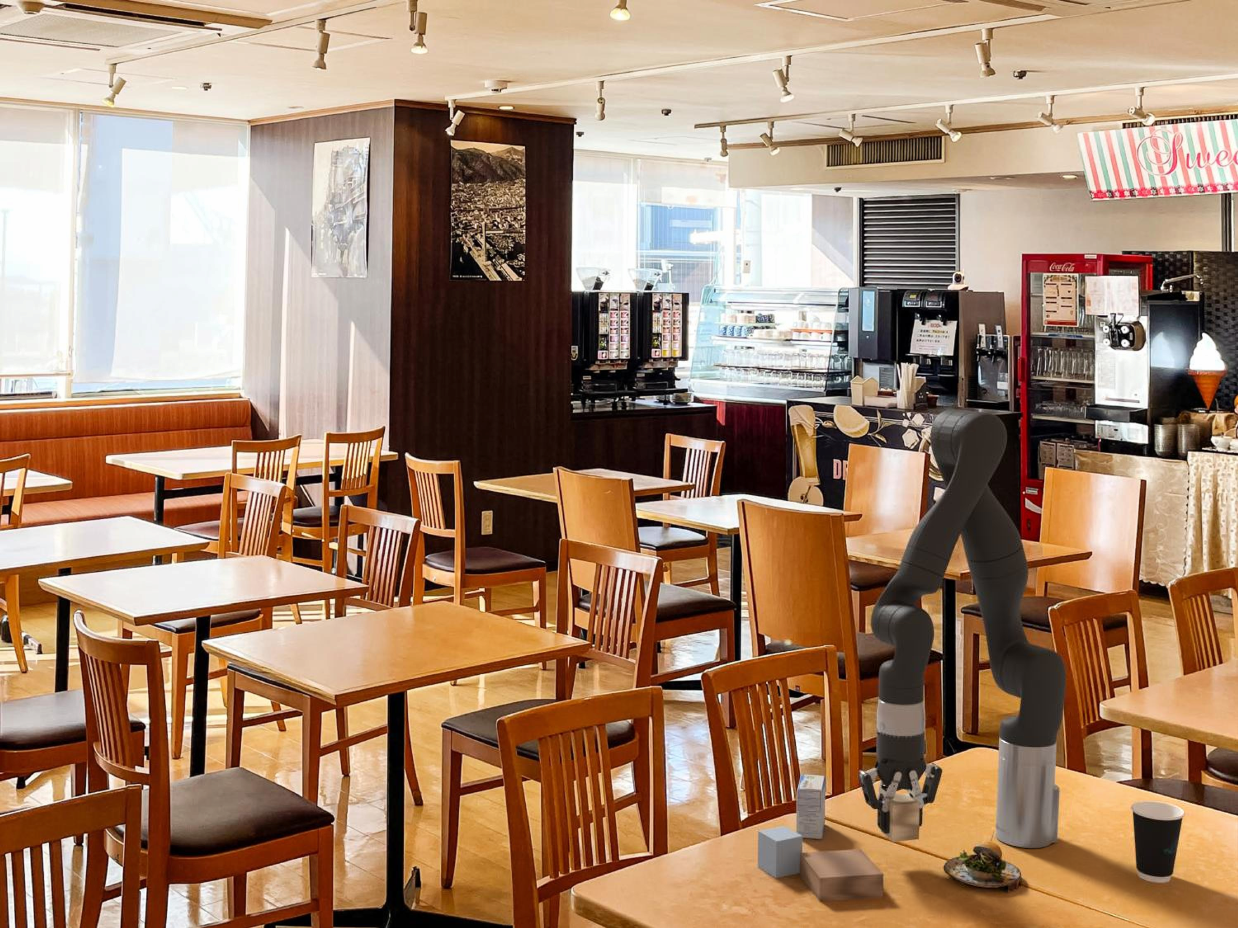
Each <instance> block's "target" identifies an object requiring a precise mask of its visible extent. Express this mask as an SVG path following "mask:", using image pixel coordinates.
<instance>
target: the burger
mask: <svg viewBox="0 0 1238 928" xmlns="http://www.w3.org/2000/svg"><path fill="white" fill-rule="evenodd" d="M994 833H995V830H993V832H992V835H991V840H986V841H981V842H978V843H976V844H975V845H974V846H973V849H972V851H973V853H974V854H970V855H969V854H968V853H967V852H966V851H965V849H963V850H962V851H963V852H959V854H960V855H959V856H956V857H953V858H951V859H949V860H946V862H945V863H944V865H943V871H944V872H947V873H948V874H949V875H950V876H951V877H952V878H954V879H955V880H957V881H960V883H961V882H962V883H963V884H964V883H965V884H967V885H971V886H974V887H981V888H986V889H987V888H994V889H995V888H997V889H998V888H1002V887H1006V886H1007V892H1008V893H1010V892H1013V893H1014V892H1015V890H1018V889H1019V888H1018V886H1019V884H1020V886H1022V883H1023V882H1022V872H1021V870H1020V869H1019V868H1018V867H1017V866H1016V865H1014V864H1012V863H1011V862H1008V861H1007V860H1005V859H1004V860H1003V859H1002V858H1003V852H1002V848H1001V847H1000V846H999V844H996V843H995V842H993V840H992V839H993V837H994Z"/></svg>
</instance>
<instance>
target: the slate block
mask: <svg viewBox="0 0 1238 928" xmlns="http://www.w3.org/2000/svg"><path fill="white" fill-rule="evenodd" d="M757 833H758V834H757V835H758V836H757V868H758V869H760V870H762V871H763V872H764V873H766V874H768V875H770V876H771V877H772V878H775V879H779V878H783V877H788V876H793V875H798V874H800V853H803V839H804V838H803V836H802V835H800V834H798V833H796V830H795V831H794V830H793V829H791V828H790V827H787V826H785V825H782V826H778V827H777V826H776V827H773V828H767V829H762V830H758V831H757Z"/></svg>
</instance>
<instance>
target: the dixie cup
mask: <svg viewBox="0 0 1238 928" xmlns="http://www.w3.org/2000/svg"><path fill="white" fill-rule="evenodd" d="M1130 810H1131V811H1132V819H1133V835H1134V851H1135V852H1134V853H1135V866H1136V870H1137V875H1138V877H1139V878H1141V879H1142V880H1144V881H1147V882H1150V883H1158V884H1160V883H1161V884H1162V883H1163V884H1164V883H1168V882H1170V881H1171V878H1172V875H1173V874H1174V869H1175V863H1176V859H1177V853H1178V847H1179V840H1180V835H1181V830H1182V823H1183V818H1184V817H1185V815H1186V812H1185V811H1184V810H1183V808H1181V807H1180V806H1177V805H1174V804H1171V803H1168V802H1165V801H1164V802H1163V801H1156V800H1140V801H1136V802H1135V801H1134V802H1133V803H1132V804H1131V806H1130Z"/></svg>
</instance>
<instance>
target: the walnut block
mask: <svg viewBox="0 0 1238 928" xmlns="http://www.w3.org/2000/svg"><path fill="white" fill-rule="evenodd" d="M799 877H800V878H801V879H802V880H803V882H804V883H805V884H806V886H807V887H808V889H809V890H810V891H811V893H812V894H813V895H814V896H815V899H817V900H818V901H819V902H829V901H843V900H845V901H847V900H858V899H859V900H861V899H872V898H873V899H874V898H875V899H876V898H878V899H879V898H883V897H884V872H882V871H881V870H880V868H879V867H878V866H877V865H876V864H875V863H874V861H872V859H870V857H869V856H868V855H867V854H866V853H865V852H864V851H863V850H862V848H860V849H859V848H856V849H855V848H854V849H842V850H825V851H824V850H823V851H809V852H807V851H806V852H802V853H800V873H799Z"/></svg>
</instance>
